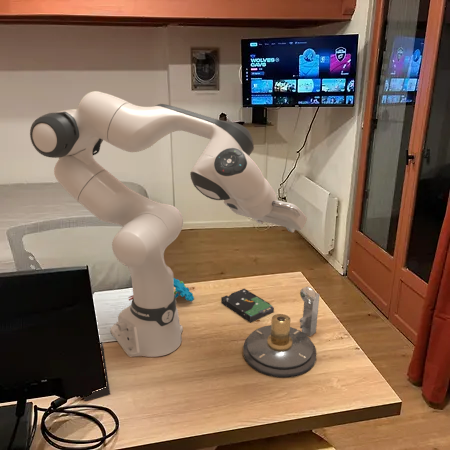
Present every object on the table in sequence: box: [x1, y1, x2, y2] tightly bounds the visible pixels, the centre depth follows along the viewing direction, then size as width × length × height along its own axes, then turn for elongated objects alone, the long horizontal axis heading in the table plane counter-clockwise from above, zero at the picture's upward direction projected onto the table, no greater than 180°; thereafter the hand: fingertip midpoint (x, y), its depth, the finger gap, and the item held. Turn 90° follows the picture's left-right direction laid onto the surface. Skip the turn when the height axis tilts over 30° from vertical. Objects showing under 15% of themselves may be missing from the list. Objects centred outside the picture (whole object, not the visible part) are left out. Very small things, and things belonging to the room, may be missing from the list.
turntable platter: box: [247, 325, 314, 370], centre depth 124 cm, size 18×18×2 cm
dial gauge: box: [299, 286, 320, 337], centre depth 130 cm, size 5×6×16 cm
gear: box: [173, 277, 195, 303], centre depth 150 cm, size 11×6×10 cm
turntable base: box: [242, 335, 317, 379], centre depth 125 cm, size 20×20×2 cm
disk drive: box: [220, 288, 275, 323], centre depth 147 cm, size 10×3×15 cm
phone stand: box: [83, 341, 111, 402], centre depth 110 cm, size 9×6×12 cm, turn 23°
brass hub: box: [267, 313, 292, 352], centre depth 122 cm, size 7×7×8 cm
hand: (276, 225), depth 118 cm, fingers open, 8 cm apart
